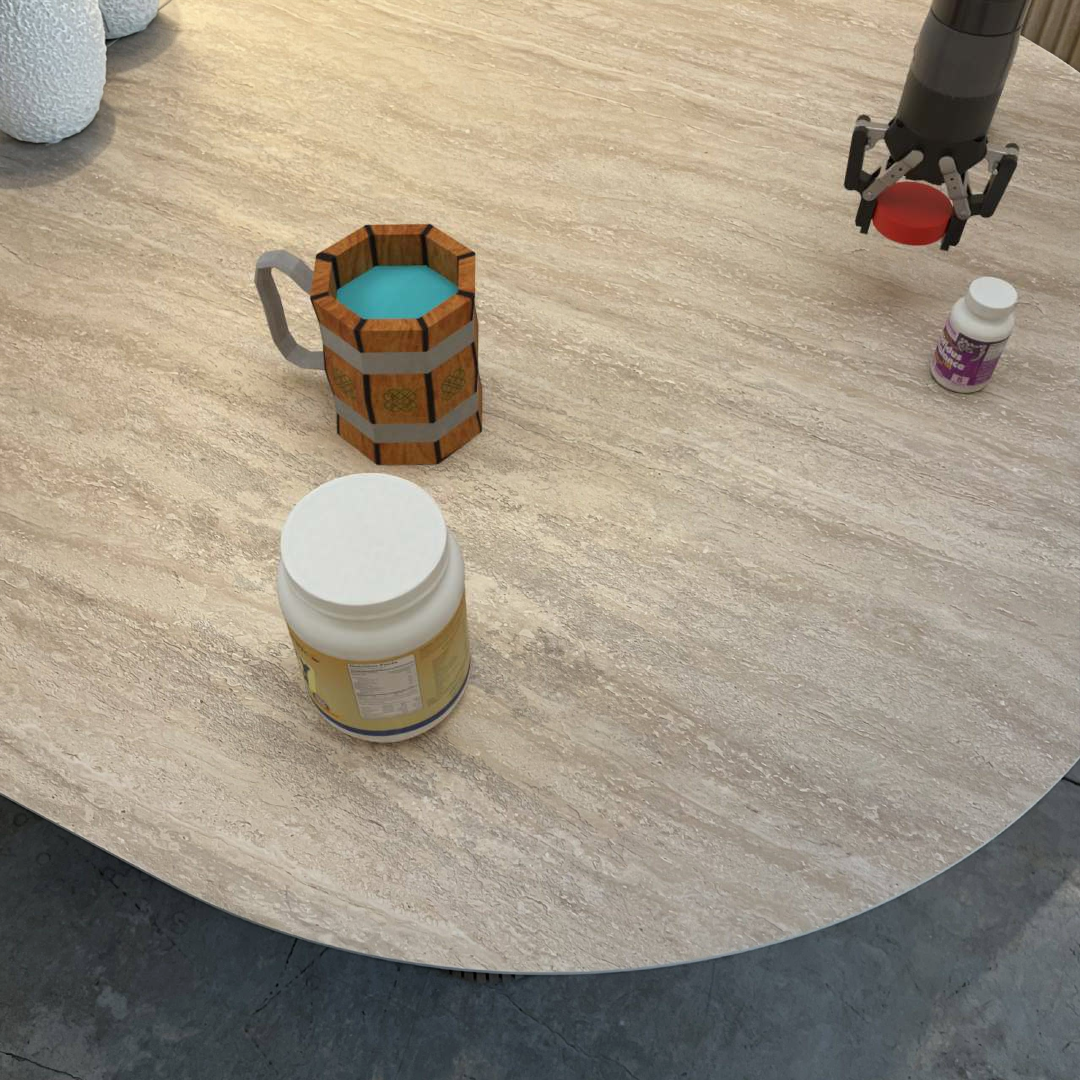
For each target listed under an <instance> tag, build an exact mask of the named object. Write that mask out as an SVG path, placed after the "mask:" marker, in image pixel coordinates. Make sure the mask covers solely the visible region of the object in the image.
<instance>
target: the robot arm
mask: <svg viewBox="0 0 1080 1080" xmlns="http://www.w3.org/2000/svg"><path fill="white" fill-rule="evenodd" d="M1031 3H1032V0H932V1H931V4H930V7H929V9H928V12H927V14H926V17H925V19H924V21H923V23H922V26H921V28H920V31H919V34H918V37H917V41H916V42H915V45H914V47H913V54H912V57H911V62H910V65H909V69H908V72H907V76H906V79H905V82H904V86H903V89H902V93H901V96H900V100H899V103H898V107H897V110H896V113H895V115H894V117H893V118H892V119H890V121H888V123H882V122H873V121H872V120H871V117H870V116H869V115H867V114H860V115H858V116H857V118H856V121H855V124H854V127H853V132H852V135H851V141H850V146H849V151H848V160H847V163H846V170H845V175H844V182H843V187H844V189H846V190H847V191H850V192H853V191H855V192H857V193H858V194H859V196H860V201H859V203H858V208H857V211H856V215H855V219H854V224H855V227H859V228H860V230H859V234H863V235H868V233H869V229H870V226H871V222H872V216H873V213H874V209H875V206H876V203H877V198H878V195H880V194H881V193H882V192H883V191H884V190H885V189H886V188H890V187H891V186H893V185H894V184H895V183H897V182H899V180H901V179H902V178H903V177H904V180H907V181H912V182H919V181H924V182H926V183H928V184H929V185H933V186H939V187H942V184H945V187H946V190H947V195H948V198H949V200H950V201H951V203H952V207H953V211H952V216H951V218H950V221H949V224H948V227H947V230H946V232H945V234H944V236H943V237H942V238H941V239H940V246H939V251H945V252H948V251H949V249H950V247H957V245H958V244H959V243H960V241H961V238H962V236H963V233H964V230H965V228H966V224H967V222H968V220H969V219H970V218H971V217H974V216H975V217H976V216H980V217H982V218H984V219H989V218H991V217H993V216H994V214H995V212H996V210H997V208H998V206H999V204H1000V202H1001V200H1002V198H1003V196H1004V194H1005V191H1006V190H1007V188H1008V186H1009V183H1010V181H1011V179H1012V178H1013V175H1014V173H1015V171H1016V169H1017V167H1018V161H1019V153H1020V146H1019V145H1018V144H1017V143H1015V142H1010V143H1009V142H1008V143H1007V144H1005V146H1001V145H998V144H994V143H990V142H989V138H988V132H989V129H990V126H991V124H992V121H993V118H994V116H995V113H996V110H997V107H998V104H999V102H1000V98H1001V96H1002V93H1003V90H1004V88H1005V85H1006V82H1007V80H1008V78H1009V77H1008V76H1009V74H1010V71H1011V69H1012V67H1013V63H1014V60H1015V57H1016V55H1017V52H1018V47H1019V43H1020V38H1021V33H1022V30H1023V26H1024V22H1025V20H1026V17H1027V14H1028V12H1029V8H1030V5H1031ZM881 140H884V144H885V145H886V148H887V150H888V152H889V153H888V154H887V155H886V156H885V157H884V158H883V160H882V162H881V163H880V164H879V165H878V166H877V167H876V168H875V169H873V170H872V171H871V172H870V173H869V172H867V171H865V170H863V166H864V161H865V155H866V151H869V150H872V149H874V148H875V146H876V144H877V142H879V141H881ZM984 159H985V160H986V161H987V163H988V166H987V170H988V172H989V173H990V174H991V175H990V177H989V178H988V181H987V183H986V185H985V187H984V189H983V191H982V193H974V194H973V190H972V187H971V183H970V175H969V170H970V169H971V168H973V167H975V166H976V165H977V164H979V163H981V162H982V161H983V160H984Z"/></svg>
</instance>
